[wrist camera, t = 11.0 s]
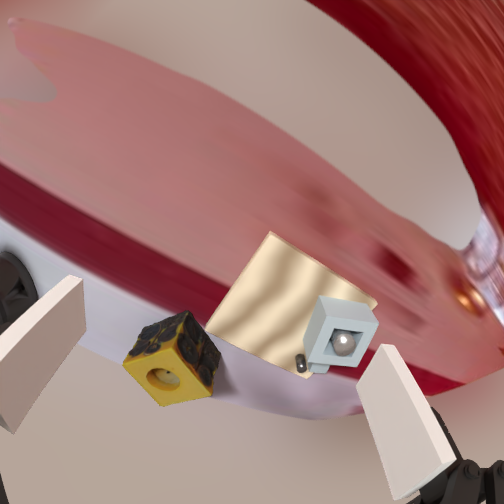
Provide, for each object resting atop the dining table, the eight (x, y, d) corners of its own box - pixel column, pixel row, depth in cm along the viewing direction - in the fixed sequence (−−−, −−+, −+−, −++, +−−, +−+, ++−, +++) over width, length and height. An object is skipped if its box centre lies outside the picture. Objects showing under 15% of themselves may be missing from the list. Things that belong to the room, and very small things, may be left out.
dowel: (293, 358, 44) (294, 370, 41) (299, 352, 44) (301, 364, 41) (300, 362, 45) (302, 374, 42) (306, 355, 44) (309, 368, 41)
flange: (318, 295, 40) (326, 315, 35) (366, 303, 41) (379, 323, 35) (293, 362, 45) (296, 385, 39) (337, 367, 45) (343, 389, 40)
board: (206, 324, 44) (204, 329, 43) (270, 230, 39) (270, 234, 37) (306, 372, 47) (307, 379, 46) (374, 298, 42) (377, 303, 41)
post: (321, 324, 42) (330, 351, 36) (334, 310, 41) (345, 335, 35) (336, 332, 42) (346, 358, 36) (348, 318, 42) (360, 343, 35)
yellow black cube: (222, 353, 46) (215, 396, 37) (174, 369, 48) (161, 409, 39) (189, 307, 43) (173, 346, 34) (141, 327, 45) (120, 365, 36)
